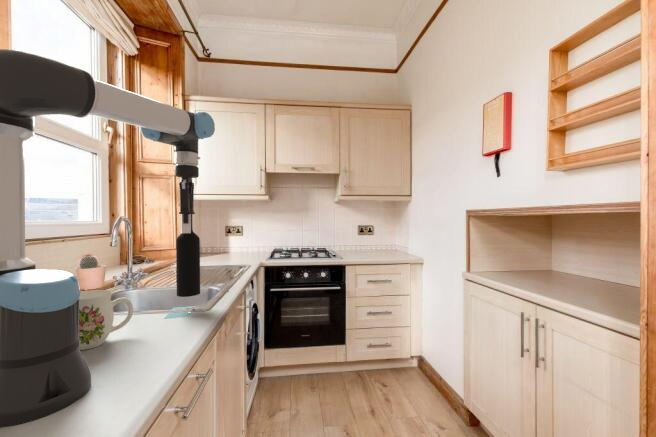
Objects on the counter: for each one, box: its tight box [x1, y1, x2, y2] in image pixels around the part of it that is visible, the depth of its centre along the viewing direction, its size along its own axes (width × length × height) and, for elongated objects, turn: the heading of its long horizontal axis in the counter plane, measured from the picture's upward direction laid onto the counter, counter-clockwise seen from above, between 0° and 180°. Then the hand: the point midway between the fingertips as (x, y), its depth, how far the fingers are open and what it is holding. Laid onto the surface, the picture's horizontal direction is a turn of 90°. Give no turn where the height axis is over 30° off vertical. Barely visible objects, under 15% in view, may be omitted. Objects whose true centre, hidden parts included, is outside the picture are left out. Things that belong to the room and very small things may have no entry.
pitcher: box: [79, 289, 134, 351], centre depth 81 cm, size 11×18×14 cm, turn 131°
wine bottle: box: [175, 209, 201, 298], centre depth 107 cm, size 8×8×30 cm
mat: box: [163, 305, 197, 320], centre depth 107 cm, size 12×12×1 cm
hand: (187, 232), depth 107 cm, fingers closed on wine bottle, 3 cm apart
